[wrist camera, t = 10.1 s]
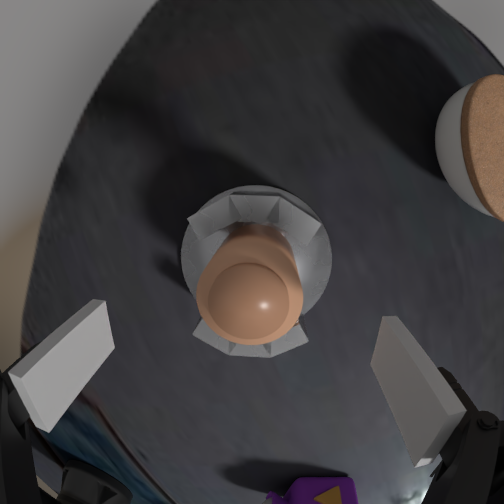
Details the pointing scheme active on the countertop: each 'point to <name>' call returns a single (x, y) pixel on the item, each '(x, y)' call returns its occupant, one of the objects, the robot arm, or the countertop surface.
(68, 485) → the robot arm
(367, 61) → the countertop surface
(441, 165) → the lidded jar
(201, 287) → the tan tapered cylinder
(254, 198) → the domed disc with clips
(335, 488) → the toy camera
